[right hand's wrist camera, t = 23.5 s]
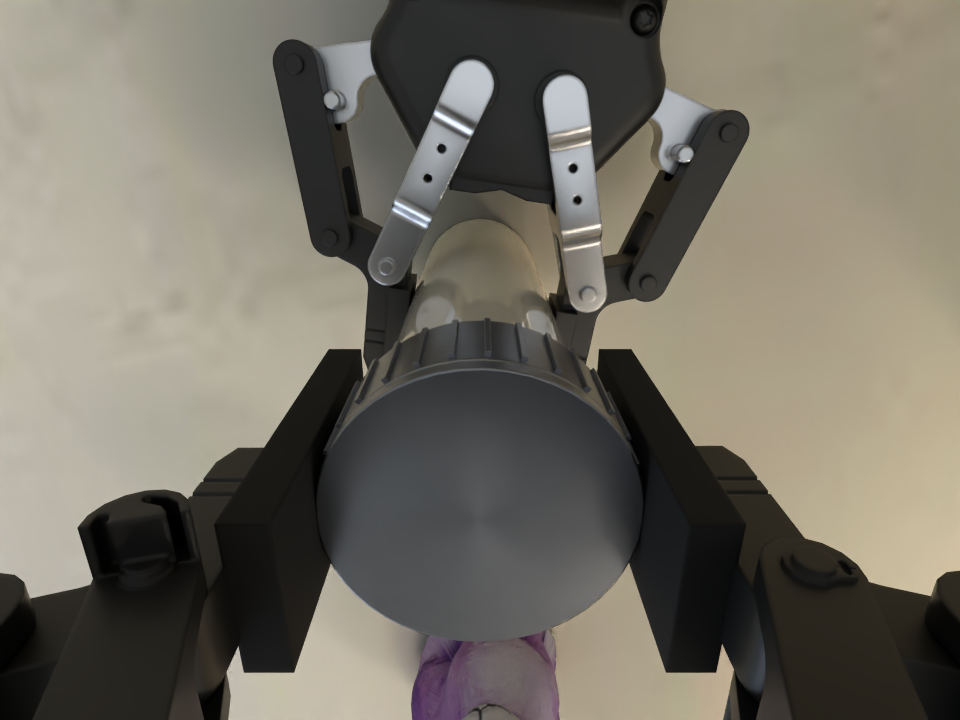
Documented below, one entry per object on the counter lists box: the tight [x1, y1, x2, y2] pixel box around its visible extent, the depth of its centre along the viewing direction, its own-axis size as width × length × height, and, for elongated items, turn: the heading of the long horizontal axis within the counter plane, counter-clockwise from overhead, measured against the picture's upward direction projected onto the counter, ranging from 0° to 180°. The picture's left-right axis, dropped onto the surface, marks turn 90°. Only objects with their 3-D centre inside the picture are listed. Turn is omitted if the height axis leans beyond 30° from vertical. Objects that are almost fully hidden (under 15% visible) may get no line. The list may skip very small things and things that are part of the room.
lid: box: [315, 318, 645, 642], centre depth 11 cm, size 6×6×2 cm
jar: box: [397, 219, 565, 347], centre depth 19 cm, size 5×5×16 cm
